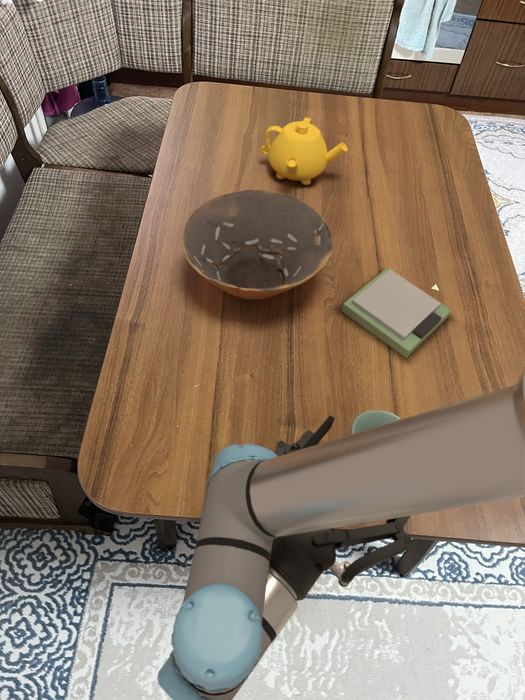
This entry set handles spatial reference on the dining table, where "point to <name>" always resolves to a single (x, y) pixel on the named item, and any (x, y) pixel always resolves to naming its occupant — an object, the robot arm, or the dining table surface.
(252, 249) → the bowl
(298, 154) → the teapot
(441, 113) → the dining table surface
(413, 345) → the scale
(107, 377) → the dining table surface
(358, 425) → the cup
